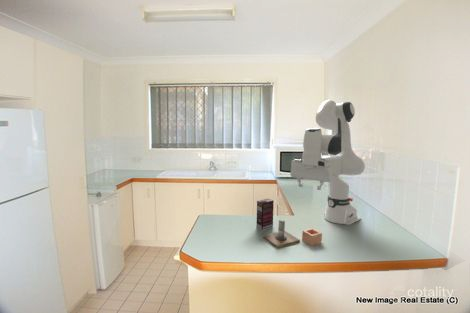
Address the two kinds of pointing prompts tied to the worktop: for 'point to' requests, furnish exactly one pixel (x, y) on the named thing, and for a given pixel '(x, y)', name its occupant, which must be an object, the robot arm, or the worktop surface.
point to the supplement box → (264, 214)
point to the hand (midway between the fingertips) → (309, 188)
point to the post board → (281, 243)
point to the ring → (312, 236)
